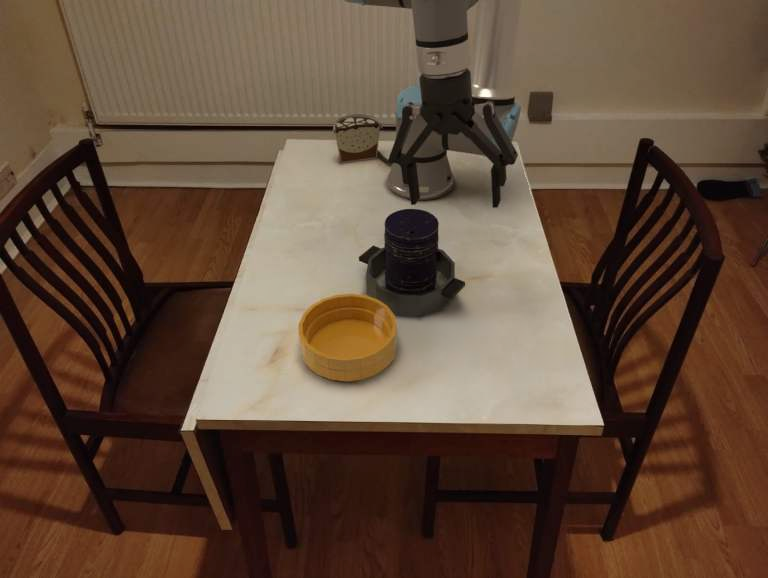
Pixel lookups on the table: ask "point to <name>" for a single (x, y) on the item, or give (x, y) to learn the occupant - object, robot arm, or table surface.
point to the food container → (357, 137)
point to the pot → (407, 301)
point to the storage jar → (411, 251)
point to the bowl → (348, 337)
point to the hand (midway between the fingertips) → (455, 202)
